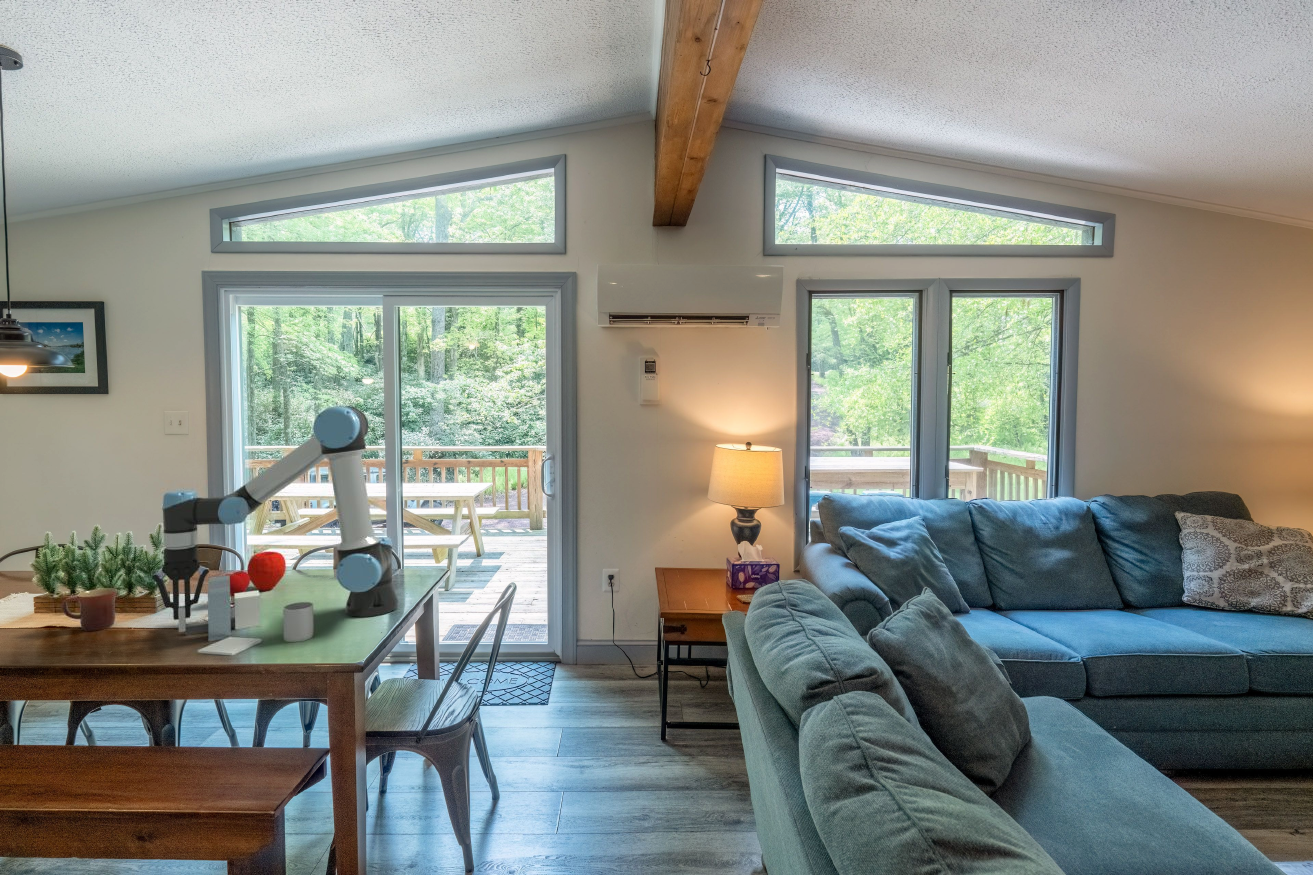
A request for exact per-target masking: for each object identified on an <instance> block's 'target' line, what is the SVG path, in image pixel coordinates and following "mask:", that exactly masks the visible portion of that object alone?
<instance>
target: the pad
mask: <svg viewBox="0 0 1313 875" xmlns="http://www.w3.org/2000/svg"><path fill="white" fill-rule="evenodd" d="M262 642H263V639H262V638H249V637H237V636H236V637H235V636H233V637H232V636H231V637H228V638H226V639H221V640H218V641H217V642H213V643H212V644H209V645H207V646H205V647H203V648H200V649H198V650H197V654H208V655H220V656H221V655H223V656H235V655H237V654H238V653H240V652H243V651H244V650H247V649H249V648H251V647H253V646H255V645H258V644H259V643H262Z"/></svg>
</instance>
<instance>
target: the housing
mask: <svg viewBox="0 0 1313 875" xmlns="http://www.w3.org/2000/svg"><path fill="white" fill-rule="evenodd" d="M207 617H208V618H207V621H208V632H207V633H208V642H214V641H221V640H223V639H226V638H228V637H232V634H231V632H232V628H231V618H232V617H231V596H230V575H229V576H225V575H221V576H213V577H208V587H207Z"/></svg>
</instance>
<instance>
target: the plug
mask: <svg viewBox="0 0 1313 875" xmlns="http://www.w3.org/2000/svg"><path fill="white" fill-rule="evenodd" d="M260 597H261V596H260V590H259V589H257V590H252V591H251V590H250V591H244V592H242V593H235V603H234V616H233V617H231V629H235V630H241V629H247V628H253V627H254V628H255V627H261V605H260V602H261V601H260ZM184 632H185V636H191V635H197V634H203V633H208V620H207V621H201V622H195V623H188V624H187V623H186V626H185V631H184Z"/></svg>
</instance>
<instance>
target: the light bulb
mask: <svg viewBox="0 0 1313 875" xmlns="http://www.w3.org/2000/svg"><path fill="white" fill-rule="evenodd" d="M229 575H230V603H233V604H235V593H242V592H246V590H247V589H248V587H249V586H250V583H251V581H250V577H249V575H248V572H246V571H244V570H237V571H234V572H233V573H229V574H228V573H227V574H225V575H224V576H229Z"/></svg>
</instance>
